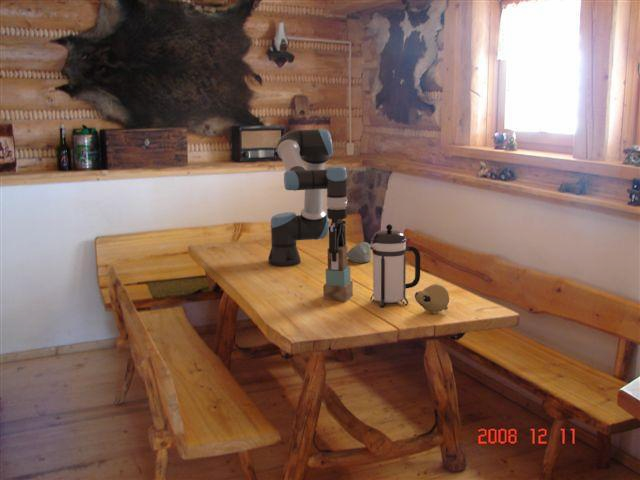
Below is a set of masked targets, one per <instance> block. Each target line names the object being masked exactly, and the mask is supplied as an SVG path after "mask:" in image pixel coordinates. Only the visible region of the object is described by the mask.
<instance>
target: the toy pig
mask: <svg viewBox="0 0 640 480" xmlns="http://www.w3.org/2000/svg"><path fill="white" fill-rule="evenodd" d="M414 297H415V298H414V299H415V301H416V302H417V304H419V305H420V306H421V307H422V308H423V309H424V310H425V312H428V313H432V315H433V316H437V315H438V313H439V312H442V311H444V310H445V311H447V310H448V309H449V307H448V305H449V301H450V294H449V292H448V290H447V288H446V287H445V286H444V285H442V284H441V283H433V284H432V285H429V286H427V287H426V288H424V289H422V290H419V291H417V292H415V293H414Z"/></svg>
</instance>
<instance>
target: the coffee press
mask: <svg viewBox="0 0 640 480" xmlns="http://www.w3.org/2000/svg"><path fill="white" fill-rule="evenodd" d="M385 228H386V229H384V230H379V231H377V232H375V233H374V234H373V237H371V242H370V243H369V245H370V249H371V248H372V250H371V251H372V252H371V254H372V267H373V268H372V285H373V286H372V288H373V289H372V295H371V297H370V301H372V302H373V301H378V302H380V303H379V307H380V308H382V307H383V308H382V309H384V308H385V306H386V305H387V304H389V303H392V304H393V303H398V302H401V303H402V304H403V305H404V306H407V305H408V304H409V301H408V299H407V297H406V291H407V289H412V288H414V287H416V286H417V285H418V284H419V282H420V279H421V254H420V252H419V249H418V248H416V247H414V246H411V245H408V246H407V245H406V242H407V240H408V239H407V237H406V235H405V234H404V232H402V231H399V230H397V229H396V230H394V229H393V226H392V224H389V223H388V224H387V225H386V227H385ZM407 252H412V253H413V254H414V256H415V257H414V258H415V260H414V261H415V262H414V264H415V265H414V279H413V281H411V282H410V283H409V282H408V283H406V269H407V268H406V261H407V260H406V259H407V258H406V254H407ZM405 304H406V305H405Z"/></svg>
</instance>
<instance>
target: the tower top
mask: <svg viewBox="0 0 640 480" xmlns="http://www.w3.org/2000/svg"><path fill="white" fill-rule="evenodd" d="M351 279H352V278H351V266H348V267H347V268H345V269H344V270H343V271H341V270H328V268H326V269H325V284H326V285H331V286H343V287H345V286H346V285H347V284H348V283H349V282H351V281H352V280H351Z"/></svg>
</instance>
